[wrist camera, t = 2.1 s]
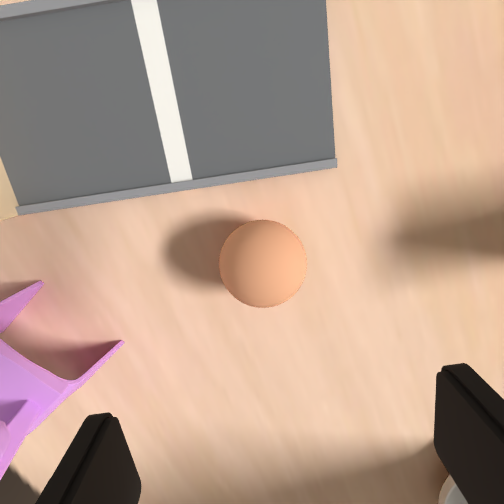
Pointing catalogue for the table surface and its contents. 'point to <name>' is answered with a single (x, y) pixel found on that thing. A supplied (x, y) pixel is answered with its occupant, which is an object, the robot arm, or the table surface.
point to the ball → (262, 263)
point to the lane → (158, 97)
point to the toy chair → (28, 384)
